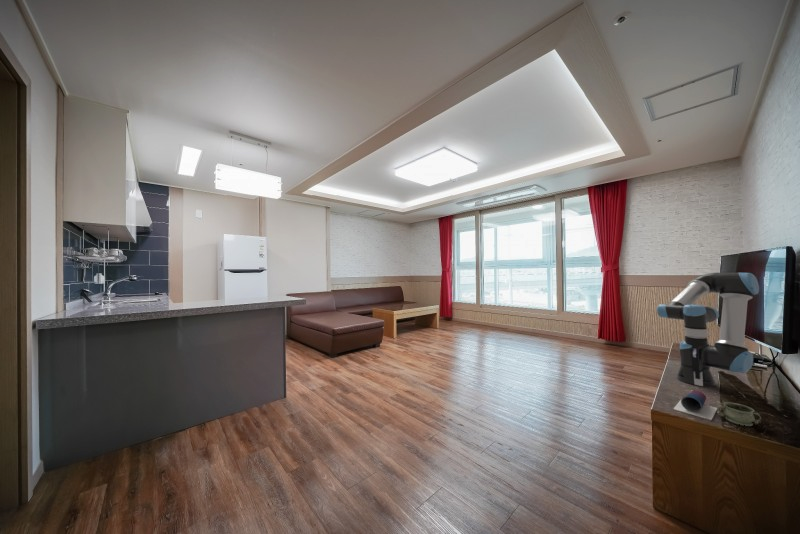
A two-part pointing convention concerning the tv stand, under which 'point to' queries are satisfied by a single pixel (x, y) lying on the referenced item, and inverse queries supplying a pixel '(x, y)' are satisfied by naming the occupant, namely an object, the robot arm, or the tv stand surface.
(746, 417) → the vessel
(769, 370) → the tv stand surface
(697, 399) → the cup
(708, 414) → the mat
